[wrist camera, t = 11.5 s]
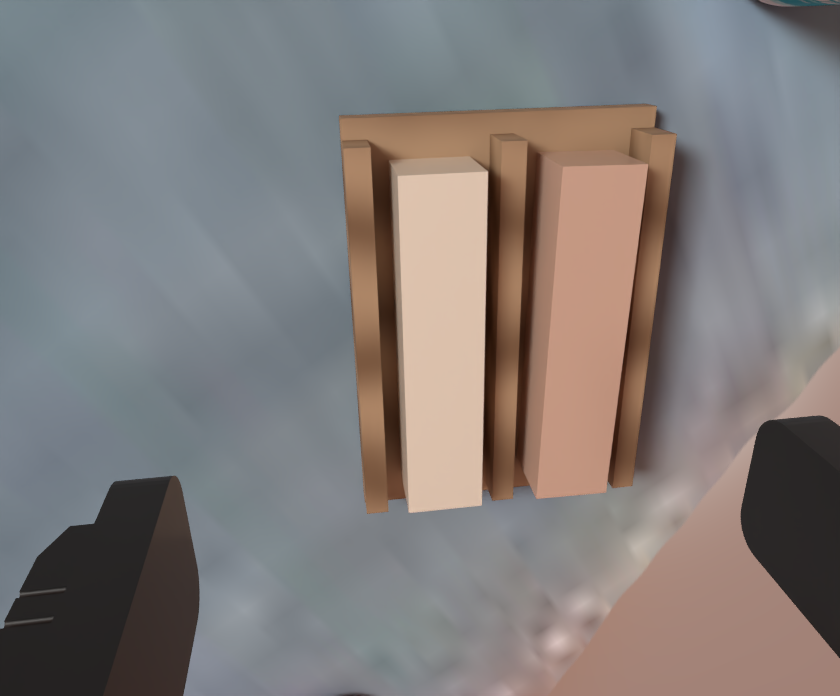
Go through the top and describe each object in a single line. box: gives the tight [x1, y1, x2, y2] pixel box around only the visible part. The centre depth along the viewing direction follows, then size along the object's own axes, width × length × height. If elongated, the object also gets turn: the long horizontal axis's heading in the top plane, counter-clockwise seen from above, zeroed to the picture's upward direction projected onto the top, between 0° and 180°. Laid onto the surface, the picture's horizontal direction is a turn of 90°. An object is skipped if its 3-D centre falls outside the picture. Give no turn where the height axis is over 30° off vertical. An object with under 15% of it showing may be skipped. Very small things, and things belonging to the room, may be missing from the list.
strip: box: [388, 156, 488, 513], centre depth 36 cm, size 18×4×4 cm, turn 1°
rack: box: [339, 104, 677, 514], centre depth 38 cm, size 22×16×4 cm
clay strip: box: [517, 150, 648, 499], centre depth 37 cm, size 18×4×4 cm, turn 0°
